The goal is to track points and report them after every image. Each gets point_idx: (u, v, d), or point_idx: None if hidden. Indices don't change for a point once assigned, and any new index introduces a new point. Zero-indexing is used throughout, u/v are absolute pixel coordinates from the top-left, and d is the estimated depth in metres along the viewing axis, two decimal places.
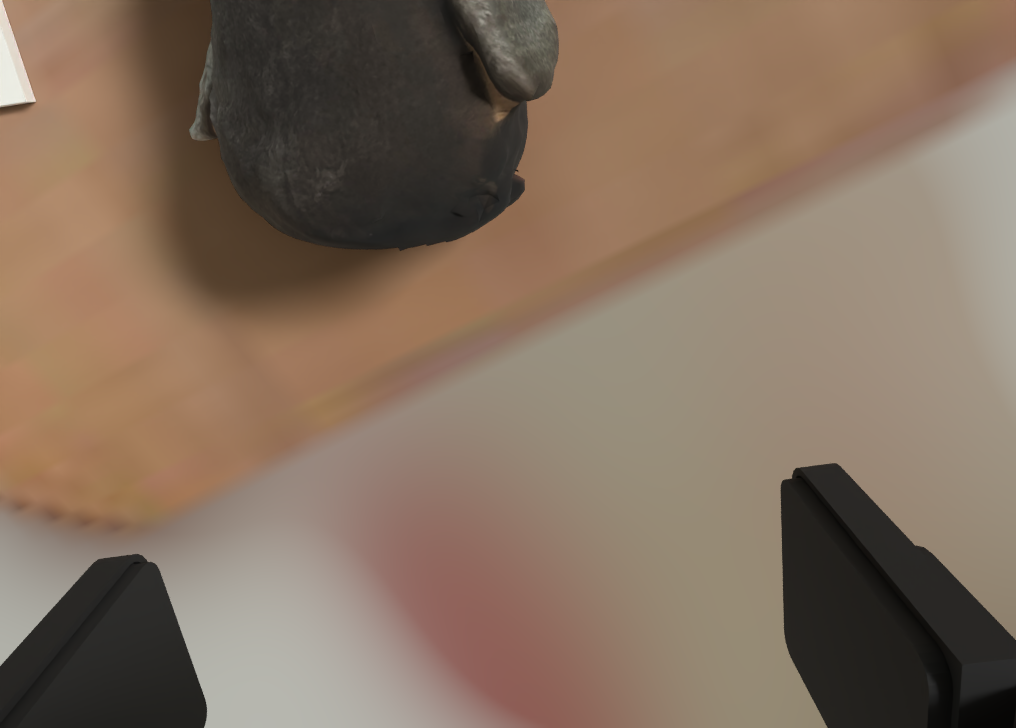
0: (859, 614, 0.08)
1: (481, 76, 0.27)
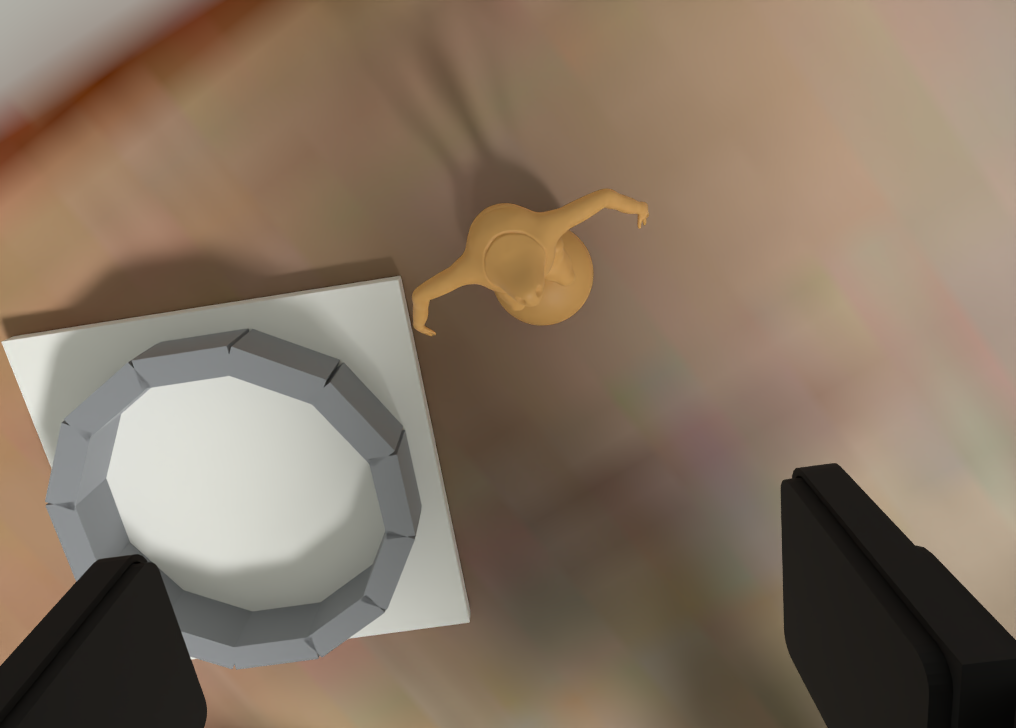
0: (859, 614, 0.08)
1: None
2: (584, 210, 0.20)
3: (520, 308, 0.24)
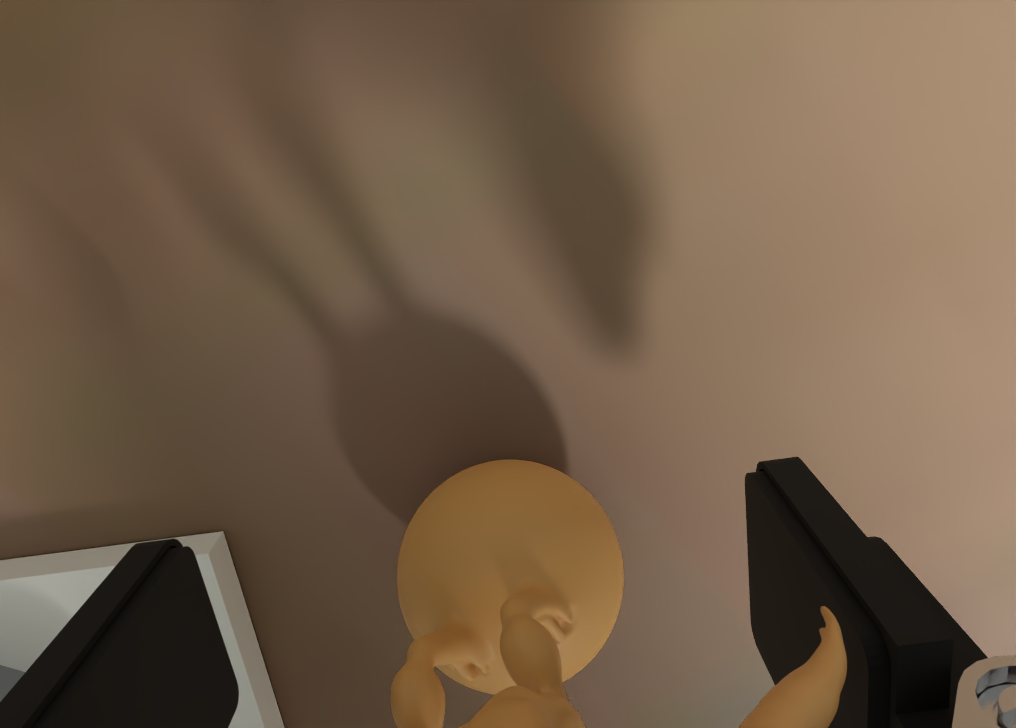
0: (811, 601, 0.08)
1: None
2: None
3: None
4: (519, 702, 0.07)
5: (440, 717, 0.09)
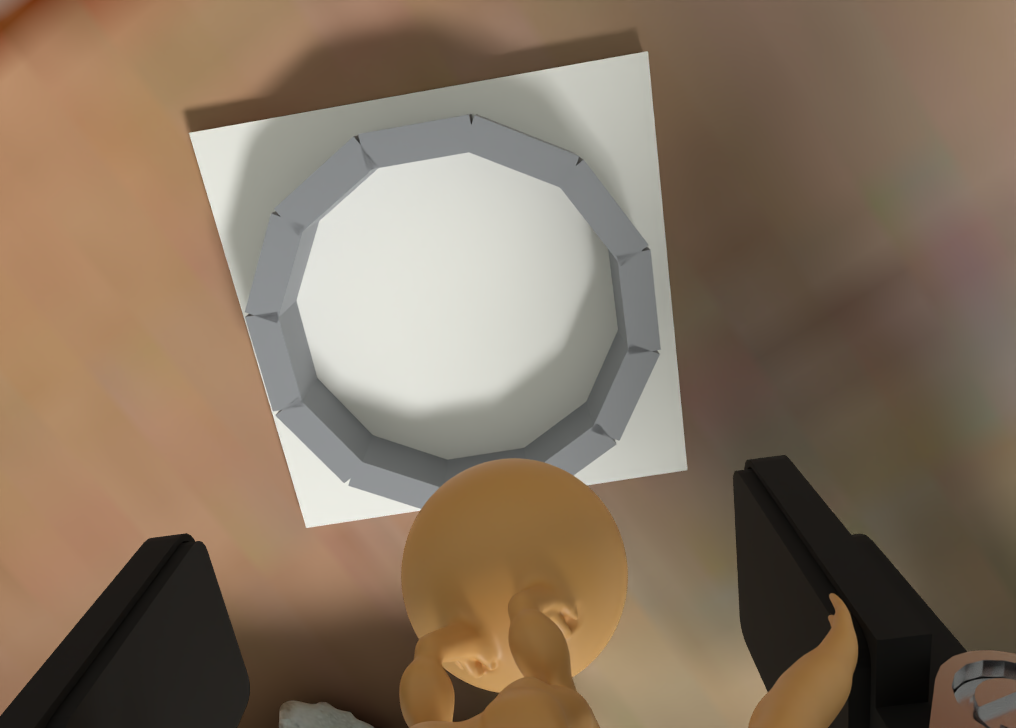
0: (795, 597, 0.08)
1: None
2: None
3: None
4: (533, 691, 0.07)
5: (450, 712, 0.09)
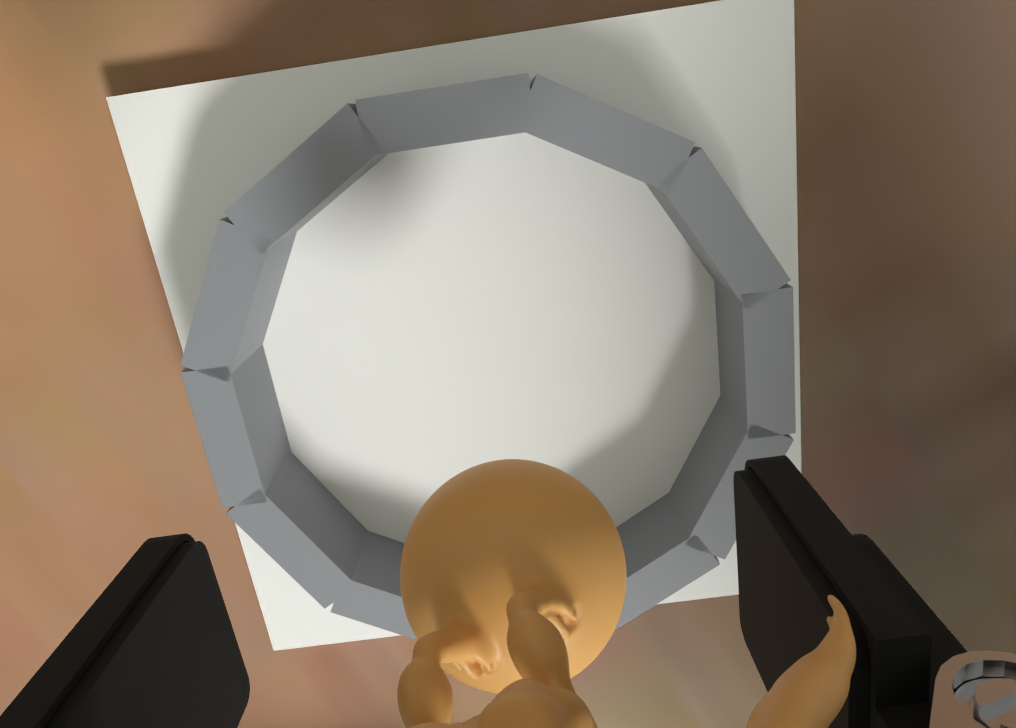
0: (796, 597, 0.08)
1: None
2: None
3: None
4: (530, 693, 0.07)
5: (448, 713, 0.09)
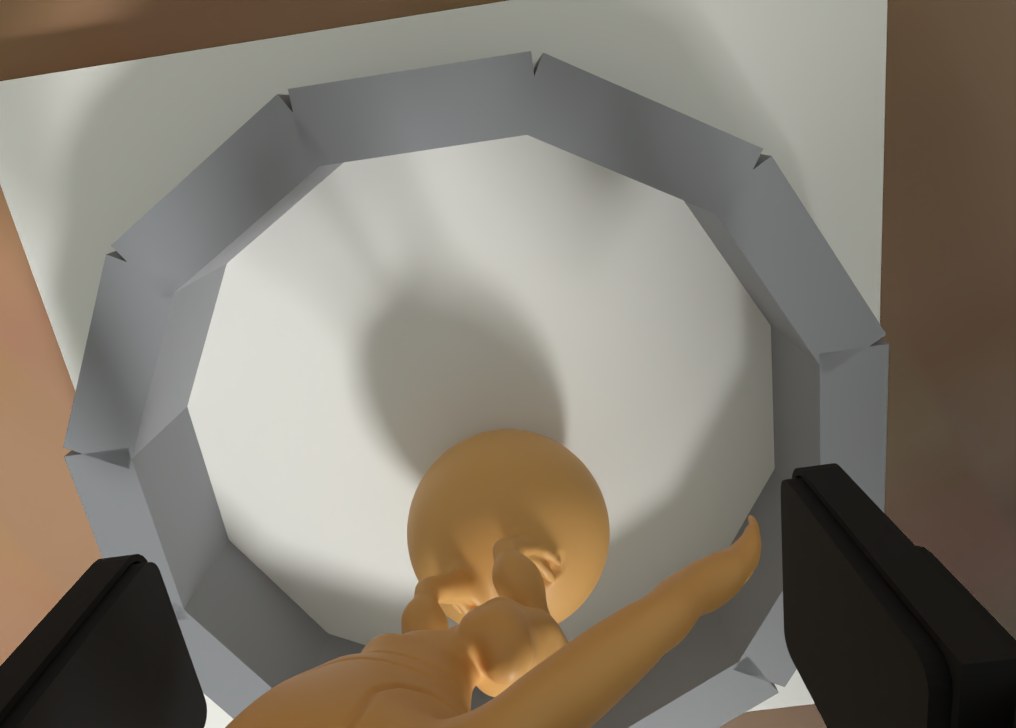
0: (859, 614, 0.08)
1: None
2: (587, 714, 0.06)
3: None
4: (500, 603, 0.08)
5: None
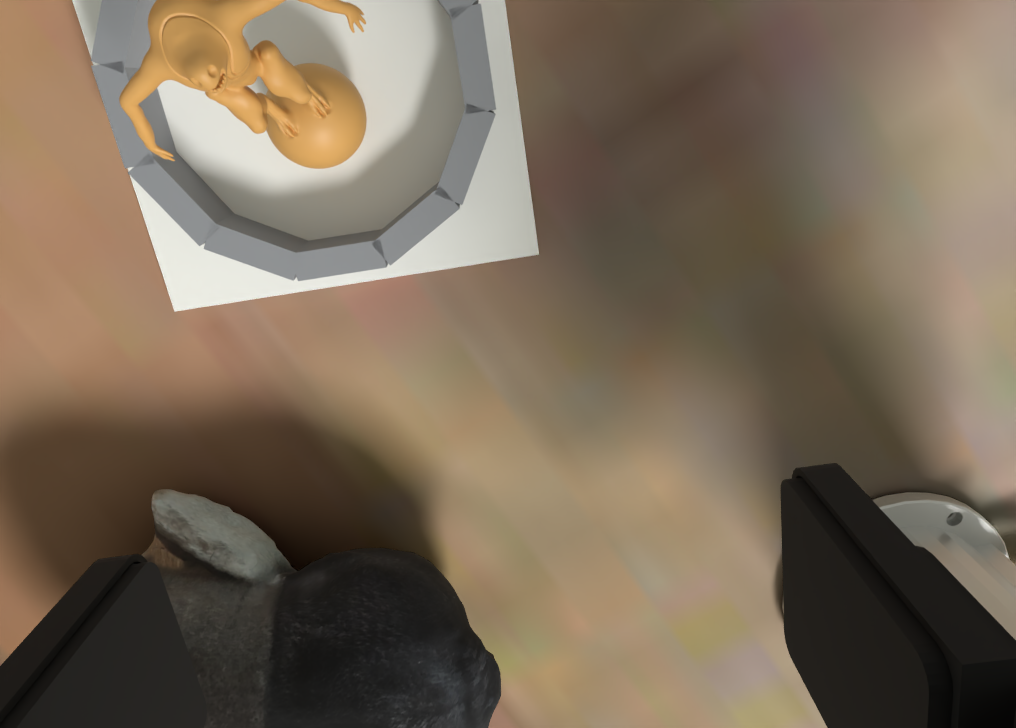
0: (859, 614, 0.08)
1: None
2: None
3: (259, 129, 0.25)
4: None
5: (264, 105, 0.25)
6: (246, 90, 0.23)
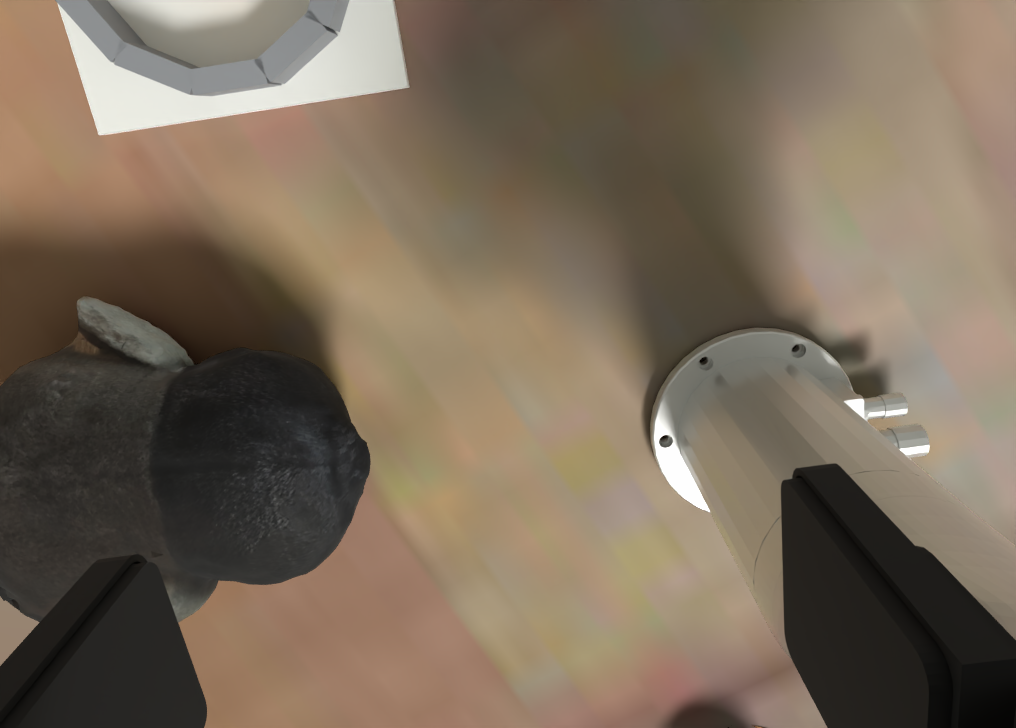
0: (859, 614, 0.08)
1: None
2: None
3: None
4: None
5: None
6: None
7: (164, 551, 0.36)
